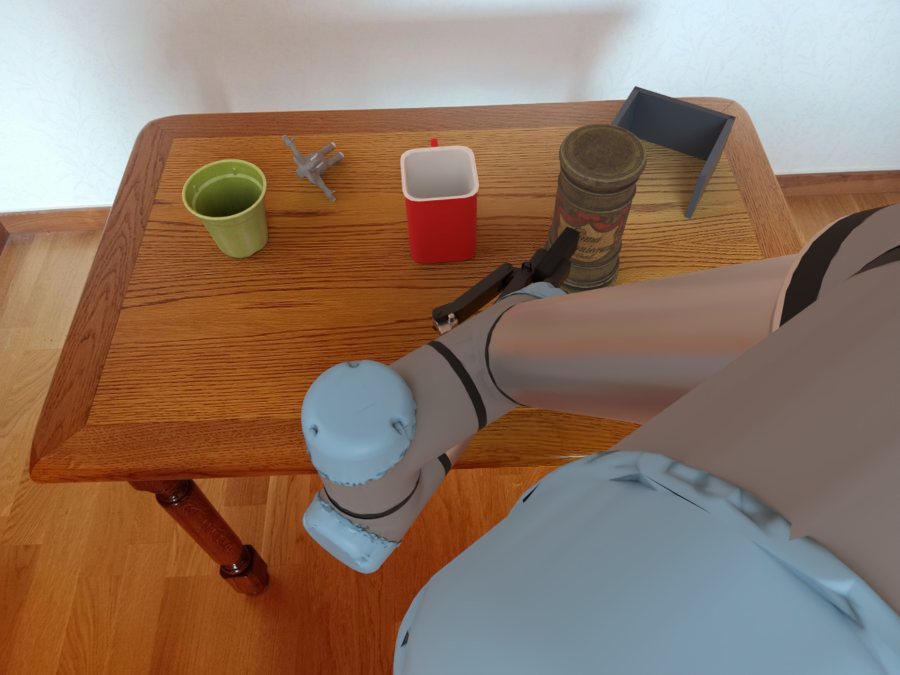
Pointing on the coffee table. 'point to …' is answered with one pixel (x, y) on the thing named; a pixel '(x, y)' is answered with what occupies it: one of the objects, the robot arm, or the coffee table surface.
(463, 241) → the mug
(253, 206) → the plant pot
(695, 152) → the grey u-shaped piece
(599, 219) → the container
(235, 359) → the coffee table surface
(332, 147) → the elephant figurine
